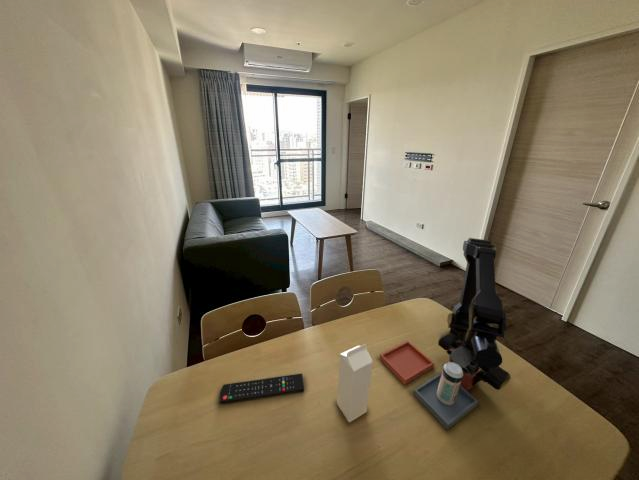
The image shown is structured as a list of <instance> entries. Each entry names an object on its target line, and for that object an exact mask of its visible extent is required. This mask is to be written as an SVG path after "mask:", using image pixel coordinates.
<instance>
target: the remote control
mask: <svg viewBox="0 0 639 480" xmlns="http://www.w3.org/2000/svg"><path fill="white" fill-rule="evenodd" d="M303 379H304V378H303V373H294V374H289V375H281V376H274V377H267V378H259V379H254V380H247V381H239V382H232V383H226V384H223V385H222V387H221V388H220V391H219V402H220V404H226V403H233V402H240V401H246V400H251V399H252V400H253V399H258V398H259V399H260V398H265V397H271V396H277V395H284V394H285V395H286V394H290V393H291V394H292V393H298V392H305V386H304V380H303Z"/></svg>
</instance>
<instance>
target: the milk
mask: <svg viewBox="0 0 639 480" xmlns="http://www.w3.org/2000/svg"><path fill="white" fill-rule="evenodd" d="M338 363H339V364H338V379H337V393H336V394H337V395H336V405H337V406H338V408H339V409H340V412H341V413H342V414H343V416H344V417H345V419H346V421H347V422H348V423H351V422H353V421H354V420H356V419H358V418H360V417H361V416H363V415H364V414H366V413H367V411H368V404H369V395H370V388H371V380H372V373H373V364H374V361H373V359H372V356H371V355H370V353H369V350H368V349H367V343H365V344H362V345H356V346H354V347H352V348H349V349H347V350H345V351H342V352H341V353H339V362H338Z"/></svg>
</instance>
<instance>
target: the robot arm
mask: <svg viewBox="0 0 639 480" xmlns="http://www.w3.org/2000/svg"><path fill="white" fill-rule="evenodd" d="M462 251H463V256H464V259H465V261H466V268H465V272H464V278H463V283H462V288H461V294H460V298H459V302H458V303H457V304H456V305H455V306H454V307H453V308H452V312H450V313H449V314H447V319H446V322H447V327H448V328H449V331H448V332H447V333H446V334H444V335H442V336H440V337H439V339H438V342H437V345H438V346H439V347H440V348H442V349H443V350H444V351H446V354H447V355H449V356H448V358H449V362H454V363H456V364H458V365H459V366H460V367H461V368H462V371H463V374H465V373H467V374H471V375H474V374H475V373H476V372H477V371H478V370H479V372H478V373H476V374H475V375H476V377H475V379H474V381H473V383H472V386H473V387H475V386H476V385H478V384H479V383H480V382H483V383H487V384H488V385H489V386H491V387H492V388H494V389H495V390H497V391H500V390H501V389H503V388H504V387H505V386H506V385H508V383H510V381H511V379H512V377H511V374H510V373H509V372H508V371H506V370H505V369H503V368H502V367H500V366H501V365H502V364H503V355H502V354H501V351H500V349H499V346H498V343H497V338H498V337H499V338H503V339H504V338H505V332H507V314H506V310H505V308H504V306H503V300H502V299H501V297H500V296H499V295H498V294H497V290H496V289H497V288H496V287H497V286H496V270H495V259H496V256H497V246H496V245H495V244H493V243H492V241H491V240H489V239H482V238H474V237H468V238H467V240H464V242H463V244H462ZM492 325H493V326H492ZM494 325H495V326H494ZM496 326H498V327H496Z"/></svg>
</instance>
